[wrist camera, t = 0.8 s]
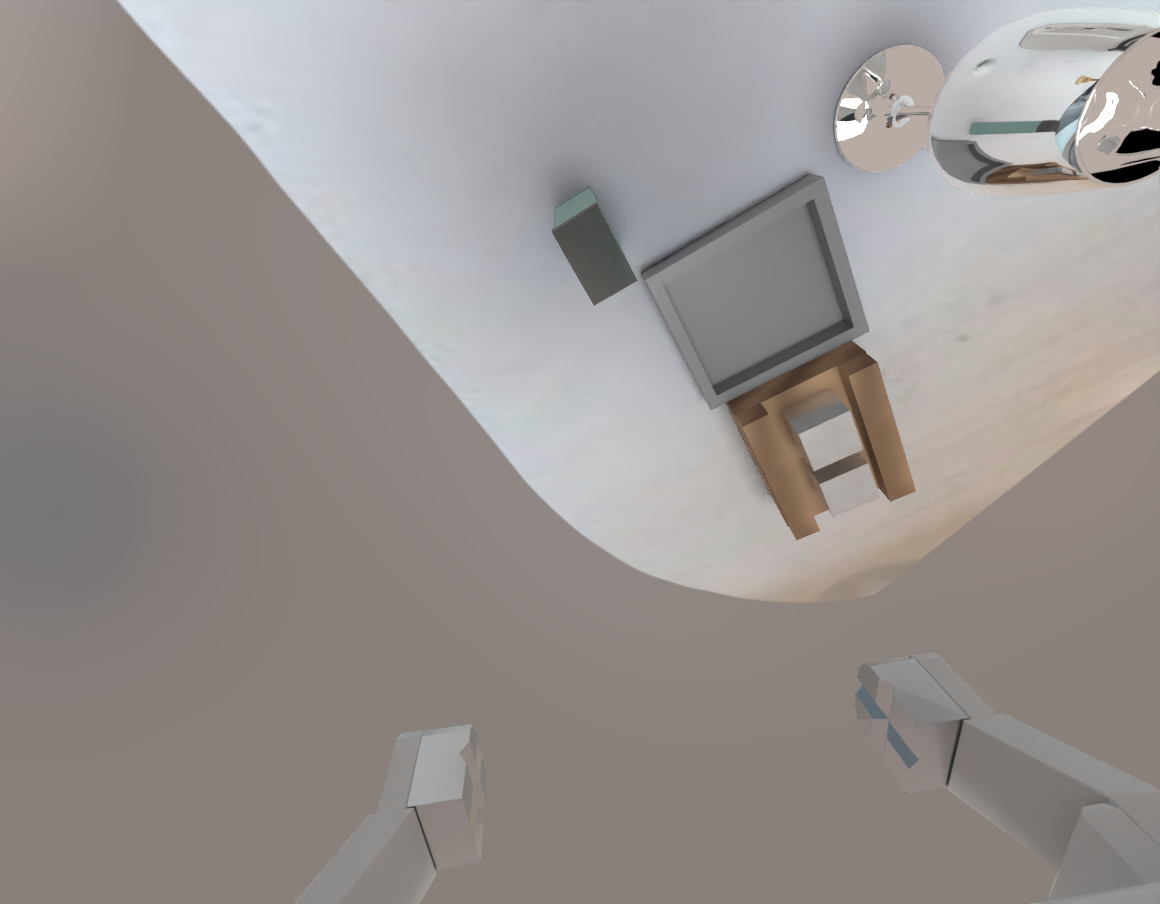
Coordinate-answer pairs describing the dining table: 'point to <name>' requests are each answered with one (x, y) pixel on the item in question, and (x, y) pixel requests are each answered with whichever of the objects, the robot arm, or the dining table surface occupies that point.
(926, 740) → the robot arm
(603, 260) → the green grey block
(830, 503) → the steel block
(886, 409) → the groove board
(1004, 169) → the wineglass
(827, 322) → the tray
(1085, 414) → the dining table surface
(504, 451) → the dining table surface
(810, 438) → the steel block
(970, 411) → the dining table surface
